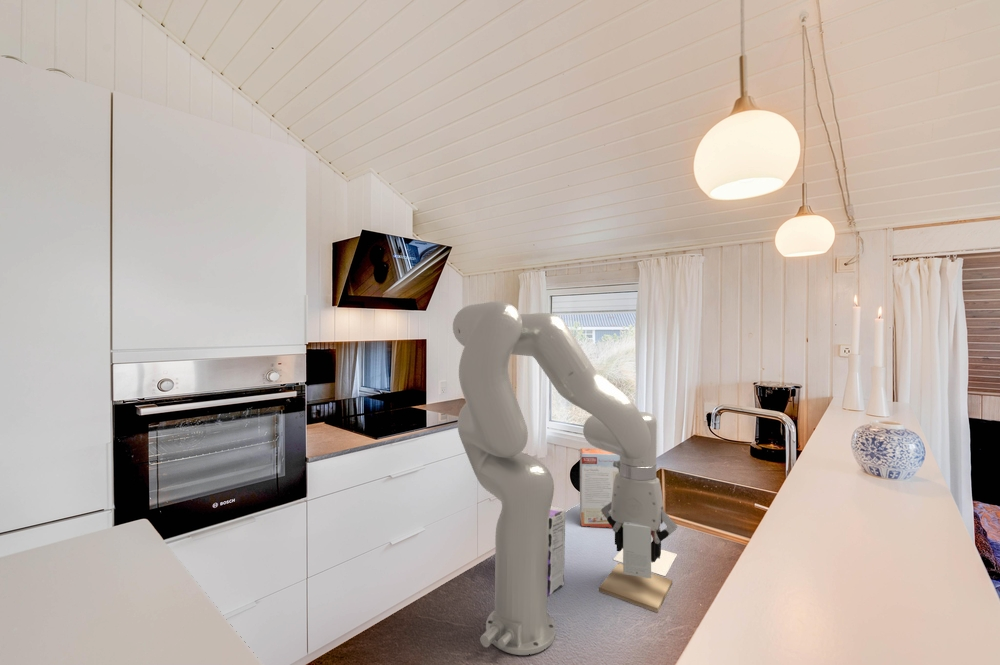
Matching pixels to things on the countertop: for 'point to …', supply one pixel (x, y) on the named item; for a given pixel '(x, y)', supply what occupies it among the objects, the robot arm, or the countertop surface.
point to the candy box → (556, 549)
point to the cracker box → (596, 485)
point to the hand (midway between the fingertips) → (637, 553)
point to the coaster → (636, 588)
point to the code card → (656, 562)
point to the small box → (636, 550)
